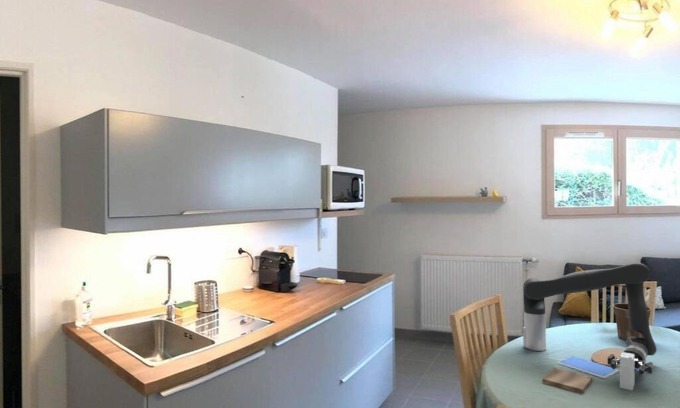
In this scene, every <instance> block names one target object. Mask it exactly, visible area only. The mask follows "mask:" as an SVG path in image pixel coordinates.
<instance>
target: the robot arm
mask: <svg viewBox="0 0 680 408" xmlns="http://www.w3.org/2000/svg"><path fill="white" fill-rule="evenodd" d="M650 277H651V270H650V268H649V267H648V266H647V265H646V264H644V263H641V262H636V261H635V262H632V261H631V262H627V263H626V264H624V265H621V266H617V267H613V268H601V269H598V268H597V269H589V270H588V269H586V270H581V271H580V270H579V271H575V272H571V273H568V274H565V275H562V276H560V277H557V278H553V279H548V280H540V279H538V278H535V277H531V278H528V279H526V280H525V281H524V283H523V286H522V287H523V288H522V289H523V309H524V311H523V312H524V314H523V315H524V317H523V318H524V320H523V321H524V327H522V335H523V336H522V339H523V340H522V341H523V342H522V343H523V348H525V349H528V350H530V351H537V352H543V351H545V350H547V329H546V327H547V326H546V321H547V320H546V303H545V299H546V298H549V297H550V298H551V297H554V296H558V295H567V294H576V293H577V294H578V293H584V292H591V291H596V290H600V289H605V288H609V287H612V286H619V285H625V291H626V296H627V303H628V311H629V325H630V329H631V330H632V331H635V332H639V333H641V334H642V335H643V336H644V337H645V338H640V337H628V338H627V340H625V345H626V348H625V349H624V350H623V352H625V353H631V354H634V355H635V371H637V372H638V375H639V376H642V375H645V374H646V373H648V374H653V370H654V364H653V363H654V362H652V361H649V362H647V363H646V361H647V358H648V356H654V355H656V353H657V345H656V343H655V340H654V338H653V336H652V332H651V330H650V318H649V319H648V311H647V307H648V306H647V304H646V301H645V294H644V283H645V282H647V281H648V280H649V279H650ZM646 306H647V307H646ZM607 365H610V367H611V368H612V369H617V368H616V367H618V368H620V356H617V357H616V356H615V354H613V353H611V354H610V355H609V356H608V357H607Z"/></svg>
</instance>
